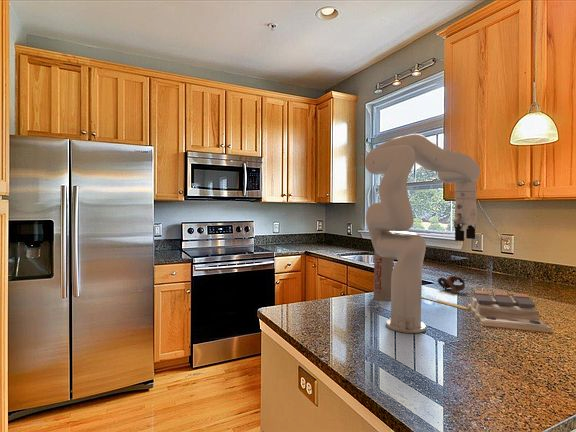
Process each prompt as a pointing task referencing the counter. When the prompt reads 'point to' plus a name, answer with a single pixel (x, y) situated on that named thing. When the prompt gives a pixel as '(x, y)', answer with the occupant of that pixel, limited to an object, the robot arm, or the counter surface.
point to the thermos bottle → (382, 277)
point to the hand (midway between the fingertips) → (465, 239)
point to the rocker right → (523, 300)
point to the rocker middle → (503, 299)
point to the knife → (447, 303)
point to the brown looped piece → (451, 283)
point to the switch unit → (507, 316)
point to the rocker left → (483, 297)
